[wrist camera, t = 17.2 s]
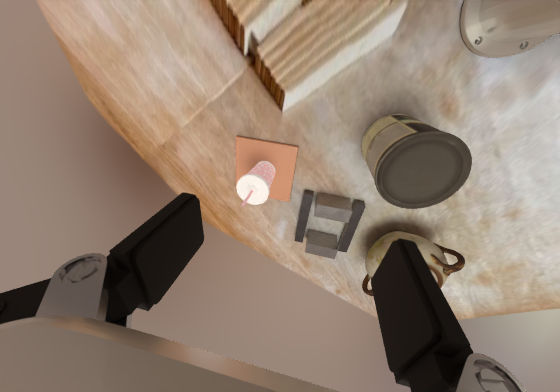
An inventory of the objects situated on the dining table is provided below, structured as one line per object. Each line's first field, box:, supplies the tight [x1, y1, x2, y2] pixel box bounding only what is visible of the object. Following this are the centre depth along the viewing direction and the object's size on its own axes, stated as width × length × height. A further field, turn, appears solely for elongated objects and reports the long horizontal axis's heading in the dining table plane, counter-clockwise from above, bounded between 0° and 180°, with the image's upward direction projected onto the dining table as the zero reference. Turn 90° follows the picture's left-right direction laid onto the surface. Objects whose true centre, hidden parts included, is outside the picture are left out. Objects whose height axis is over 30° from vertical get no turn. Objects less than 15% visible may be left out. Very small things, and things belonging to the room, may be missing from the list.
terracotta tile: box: [236, 136, 298, 202], centre depth 44 cm, size 13×13×1 cm
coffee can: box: [361, 114, 472, 209], centre depth 31 cm, size 10×10×14 cm
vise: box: [295, 190, 365, 259], centre depth 46 cm, size 13×14×5 cm
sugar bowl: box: [362, 231, 465, 296], centre depth 41 cm, size 20×15×15 cm
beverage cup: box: [236, 161, 275, 207], centre depth 38 cm, size 6×6×14 cm
